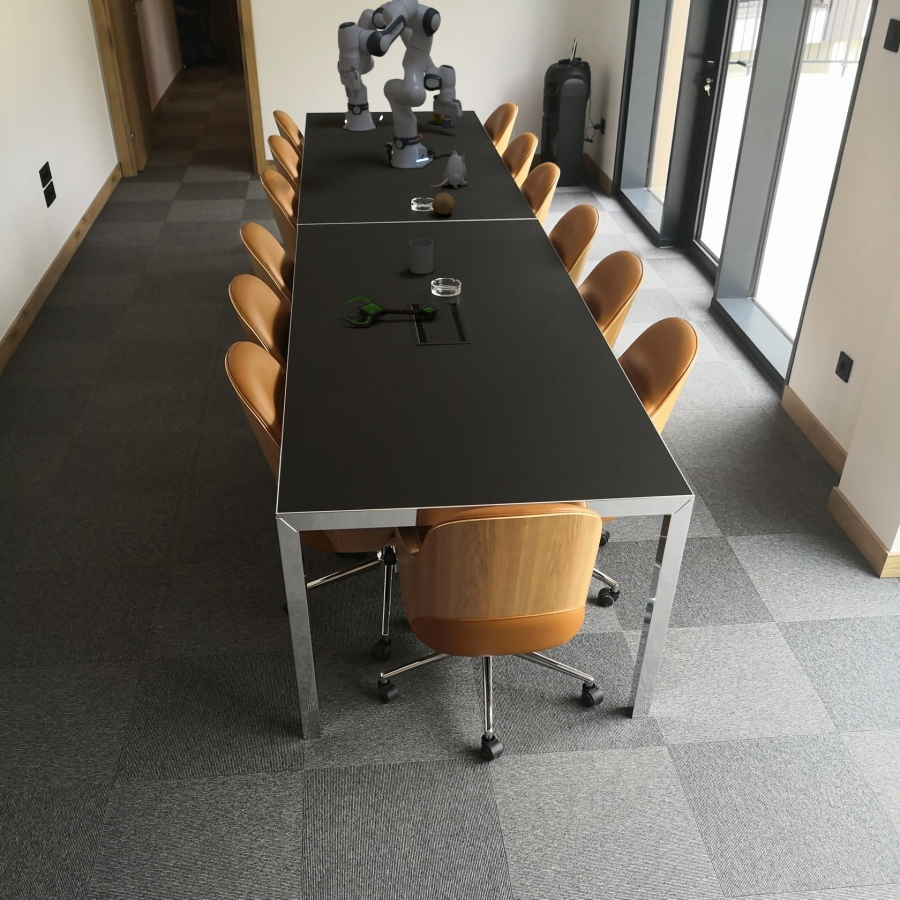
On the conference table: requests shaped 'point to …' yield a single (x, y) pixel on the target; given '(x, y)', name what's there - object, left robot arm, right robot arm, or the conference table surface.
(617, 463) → the conference table surface
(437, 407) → the conference table surface
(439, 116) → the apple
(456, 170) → the toy
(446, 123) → the block
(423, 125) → the conference table surface
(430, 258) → the cup
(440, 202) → the potato
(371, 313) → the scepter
